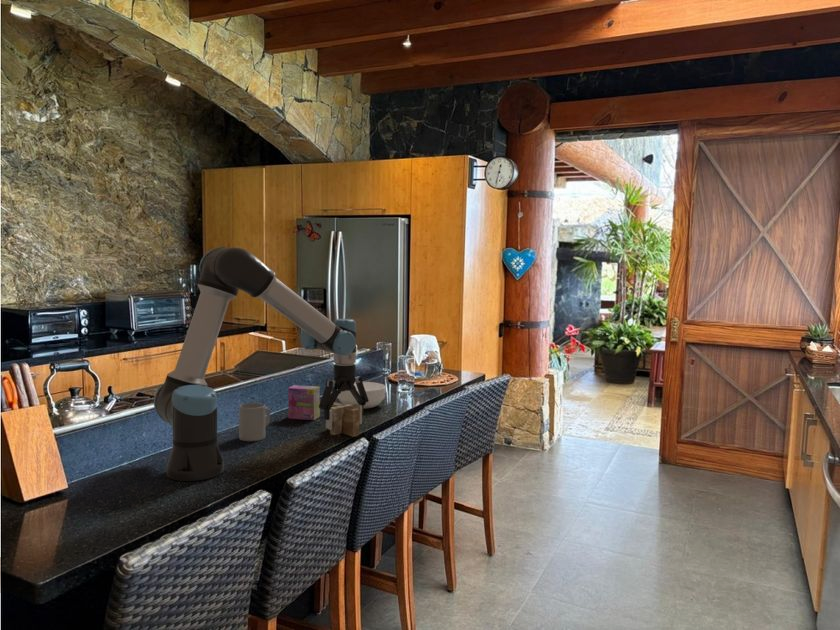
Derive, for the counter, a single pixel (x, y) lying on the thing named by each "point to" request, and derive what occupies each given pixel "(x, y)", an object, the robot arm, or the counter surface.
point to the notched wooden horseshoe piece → (339, 418)
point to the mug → (253, 421)
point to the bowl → (372, 390)
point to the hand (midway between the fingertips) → (344, 425)
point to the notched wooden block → (350, 420)
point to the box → (304, 402)
